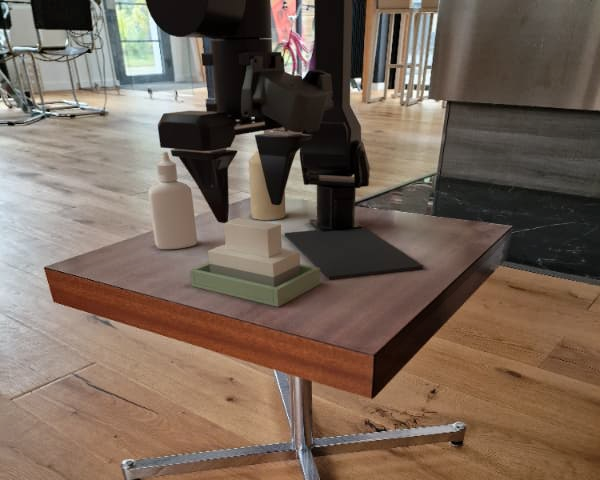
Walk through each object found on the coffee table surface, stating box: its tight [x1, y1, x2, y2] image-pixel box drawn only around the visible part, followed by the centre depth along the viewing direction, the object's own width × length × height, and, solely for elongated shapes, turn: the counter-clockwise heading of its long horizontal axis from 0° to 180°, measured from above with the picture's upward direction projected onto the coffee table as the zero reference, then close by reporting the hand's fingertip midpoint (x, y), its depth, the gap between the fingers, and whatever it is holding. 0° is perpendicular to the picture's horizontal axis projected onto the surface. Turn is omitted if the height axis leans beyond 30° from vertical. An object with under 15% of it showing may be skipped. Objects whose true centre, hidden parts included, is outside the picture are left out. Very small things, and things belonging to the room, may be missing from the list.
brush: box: [207, 217, 301, 287], centre depth 63 cm, size 9×5×6 cm, turn 56°
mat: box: [284, 226, 424, 280], centre depth 75 cm, size 20×12×1 cm, turn 16°
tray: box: [189, 261, 321, 308], centre depth 64 cm, size 12×8×2 cm
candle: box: [248, 150, 286, 221], centre depth 90 cm, size 6×6×10 cm
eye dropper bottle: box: [147, 151, 198, 251], centre depth 76 cm, size 4×6×12 cm
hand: (251, 213), depth 61 cm, fingers open, 9 cm apart
